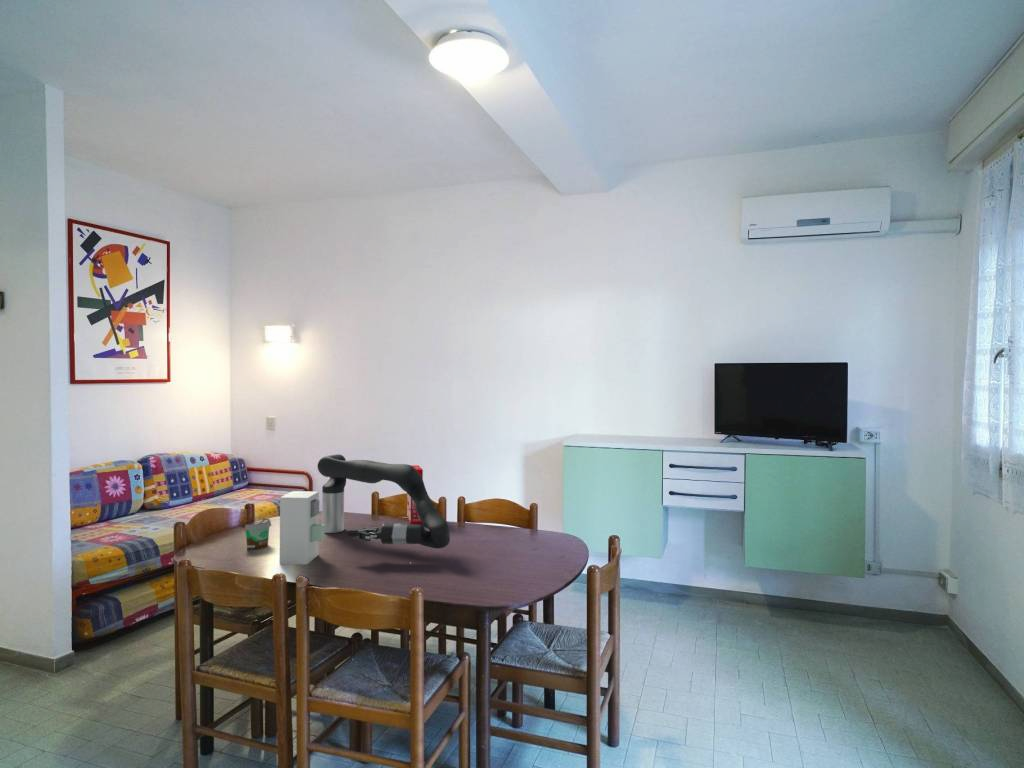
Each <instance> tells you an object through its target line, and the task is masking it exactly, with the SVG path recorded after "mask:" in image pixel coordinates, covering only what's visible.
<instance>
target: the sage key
mask: <svg viewBox="0 0 1024 768" xmlns="http://www.w3.org/2000/svg"><path fill="white" fill-rule="evenodd" d="M325 536H326V533H325V524H322V523H321V524H320V523H318V524H313V525H312V526H310V541H318V542H321V541H322V540H324V539H325Z"/></svg>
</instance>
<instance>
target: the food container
mask: <svg viewBox="0 0 1024 768" xmlns="http://www.w3.org/2000/svg"><path fill="white" fill-rule="evenodd" d="M271 527H272V521H271V520H270V518H265V517H263V518H262V520H261V521H257V522H256V521H255V522H253V523H252V524H251V523H250V524H245V527H244V530H245V533H246V534H245V535H246V536H245V537H246V550H251V551H252V550H262V549H265V548H267V547H268V546H269V537H270V536H269V535H270V528H271Z"/></svg>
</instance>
